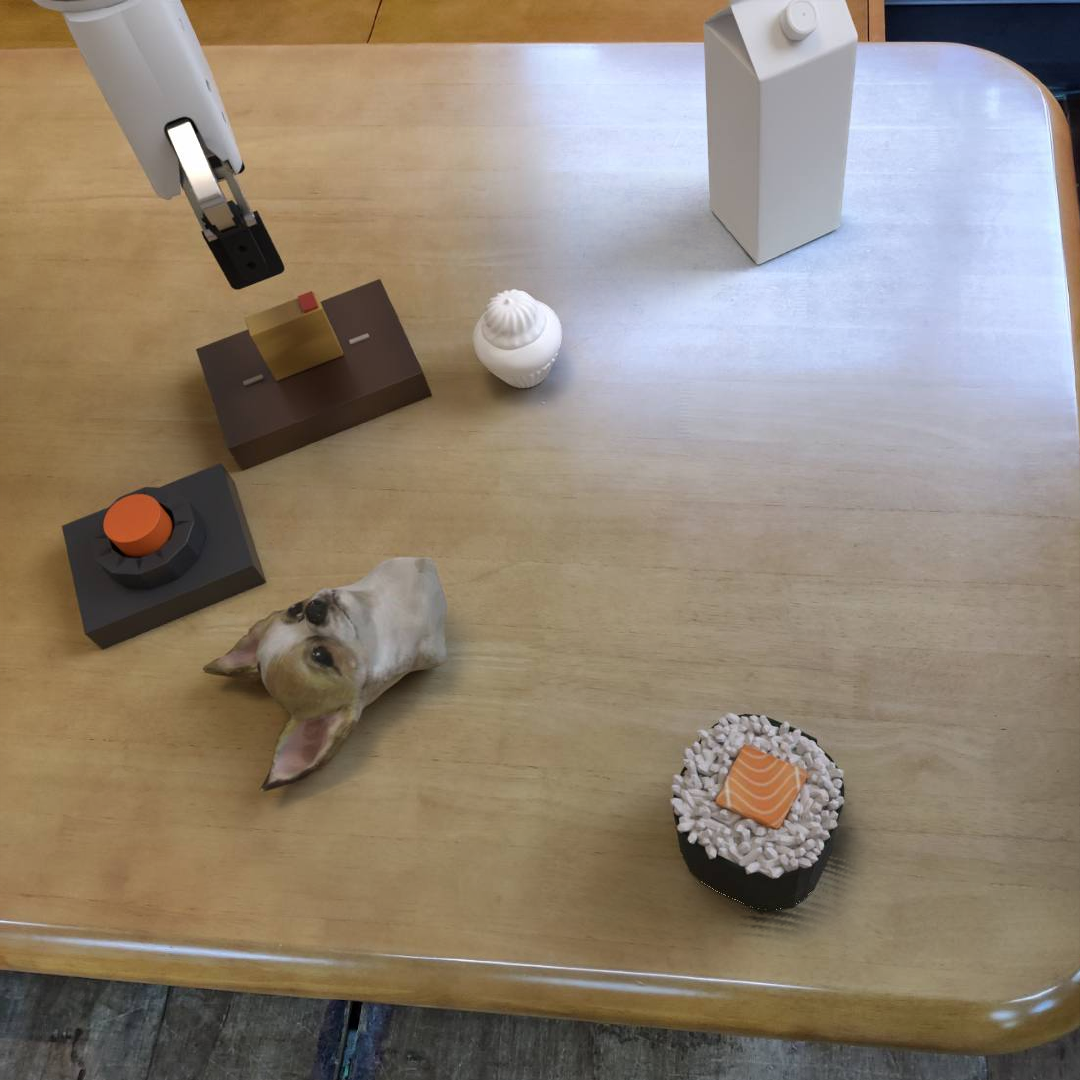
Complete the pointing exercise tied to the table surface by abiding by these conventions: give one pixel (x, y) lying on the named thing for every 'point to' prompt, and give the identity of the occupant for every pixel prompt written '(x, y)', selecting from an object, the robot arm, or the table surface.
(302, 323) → the lock knob
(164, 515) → the bell button
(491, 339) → the muffin
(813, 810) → the sushi
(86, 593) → the push button base
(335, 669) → the ceramic sculpture
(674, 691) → the table surface
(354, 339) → the plate
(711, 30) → the milk carton
